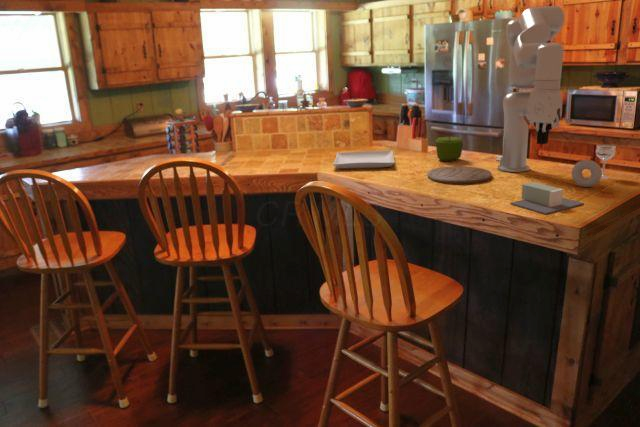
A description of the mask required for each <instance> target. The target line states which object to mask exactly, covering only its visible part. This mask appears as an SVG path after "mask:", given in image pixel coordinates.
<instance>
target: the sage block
mask: <svg viewBox="0 0 640 427" xmlns="http://www.w3.org/2000/svg"><path fill="white" fill-rule="evenodd" d="M563 196H564V189H563V188H560V187H559V188H558V187H555V186H549V185H546V184H542V183H538V182H534V181H532V182H528V183H523V184H522V187H521V200H528V201H531V202H535V203H539V204H542V205H546V206H549V207H553V206H557V205H561V204H562V198H564V197H563Z"/></svg>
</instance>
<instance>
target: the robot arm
mask: <svg viewBox="0 0 640 427" xmlns="http://www.w3.org/2000/svg"><path fill="white" fill-rule="evenodd" d="M519 16H520V17H519V18H517V19H512V20H510V21H509V22H507V24H506V28H505V38H506V42H507V45H508V48H509V66H508V85H509V87H511V88H512V89H518V90H519V89H521V90H523V89H531V91H516V92H515V91H514V92H510V93H507V94H506V95H504V98H503V100H502V101H503V102H502V108H503V139H502V153H501V154H502V156H500V155H499V156H497V158H496V159H495V161H496V162H499V164H498V165H497V169H498V170H499V171H502V172H507V173H508V172H509V173H522V172H523V173H524V172H528V171H530V168H531V166H530V165H528V164H527V157H528V155H527V154H528V144H529V143H528V142H529V141H528V140H529V131H530V130H529V124H531V125H533V126H534V127H535V131H536V132H537V136H536V137H537V138H536V144H537V145H545V144H548V141H549V134H550V132H551V130H552V129H553V128H557V127H560V122H561V120H562V115H563V95H562V90H561V81H562V69H563V61H564V60H563V59H564V50H565V48H564V46H563V45H562V44H560V43H559V42H549V41H552V40H553V39H555V38H556V36H557V35H558V34H559V33H560V31H561V30H562V28H563V27H564V23H565V12H564V10H563V9H562V7H560V6H559V5H558V6H557V5H549V6H533V7H529V8H527V9H525V10H524V11H523V12H522V13H521V14H520V15H519ZM523 117H526V119H527V120H528V123H529V124H528V123H527V121H526V120H524V118H523Z"/></svg>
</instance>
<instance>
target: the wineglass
mask: <svg viewBox="0 0 640 427" xmlns="http://www.w3.org/2000/svg"><path fill="white" fill-rule="evenodd" d="M616 148H617V146H616V145H613V144H597V145H596V149H595V155H596V157H597V158H599V159H600V160H602V162H603V163H602V176H601V179H600V180H605V179H606V180H607V179H611V177H610V176H607V175H604V173H605V168H606V162H607V161H608V160H611V159H612V158H614V156H615V155H616V152H617V151H616Z"/></svg>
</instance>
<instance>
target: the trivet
mask: <svg viewBox="0 0 640 427" xmlns="http://www.w3.org/2000/svg"><path fill="white" fill-rule="evenodd" d="M492 175H493V173H492V172H491V171H490V170H488V169H485V168H482V167H475V166H465V165H463V166H462V165H458V166H456V165H455V166H454V165H453V166H451V165H450V166H442V167H437V168H433V169H431V170H429V171H428V172H427V178H428V179H429V180H430V181H432V182H435V183H439V184H445V185H456V184H457V185H464V184H465V186H466V185H467V186H468V185H477V184H482V183H486V182H489V181H490V180H491V179H492V177H493V176H492Z"/></svg>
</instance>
